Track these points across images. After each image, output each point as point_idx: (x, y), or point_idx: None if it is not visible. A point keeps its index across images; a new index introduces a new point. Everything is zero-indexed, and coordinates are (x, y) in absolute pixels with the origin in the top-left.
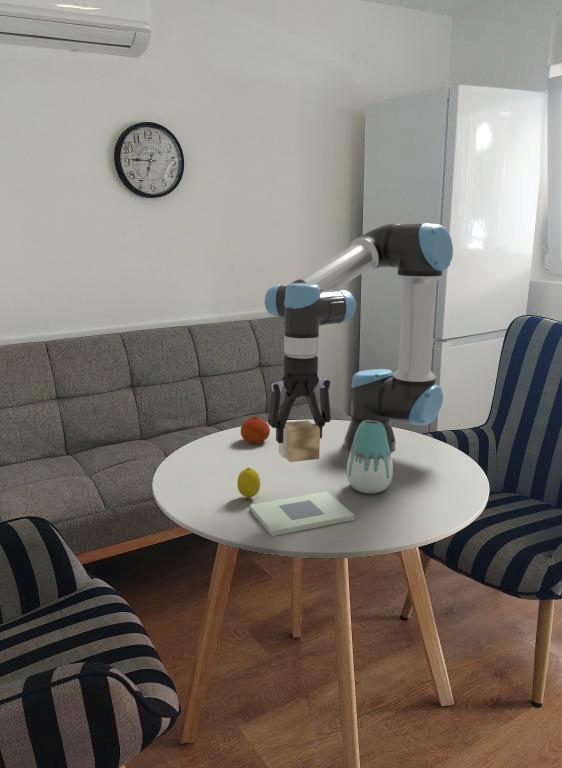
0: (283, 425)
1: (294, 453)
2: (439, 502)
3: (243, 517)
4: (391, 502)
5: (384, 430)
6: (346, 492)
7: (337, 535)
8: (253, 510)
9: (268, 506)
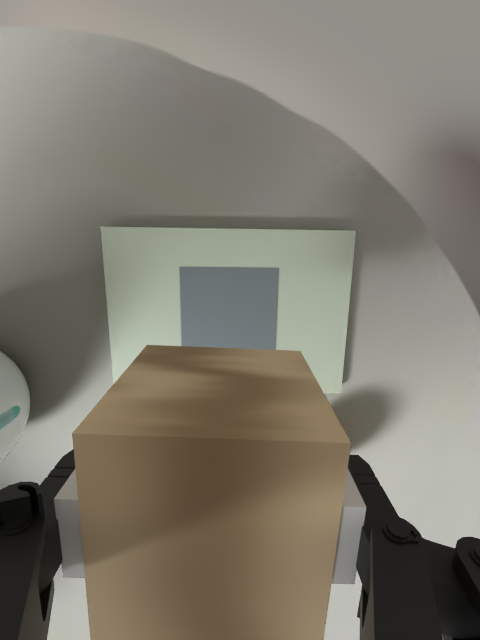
0: (388, 548)
1: (285, 365)
2: None
3: (368, 355)
4: None
5: None
6: (56, 387)
7: (190, 161)
8: (342, 365)
9: None
